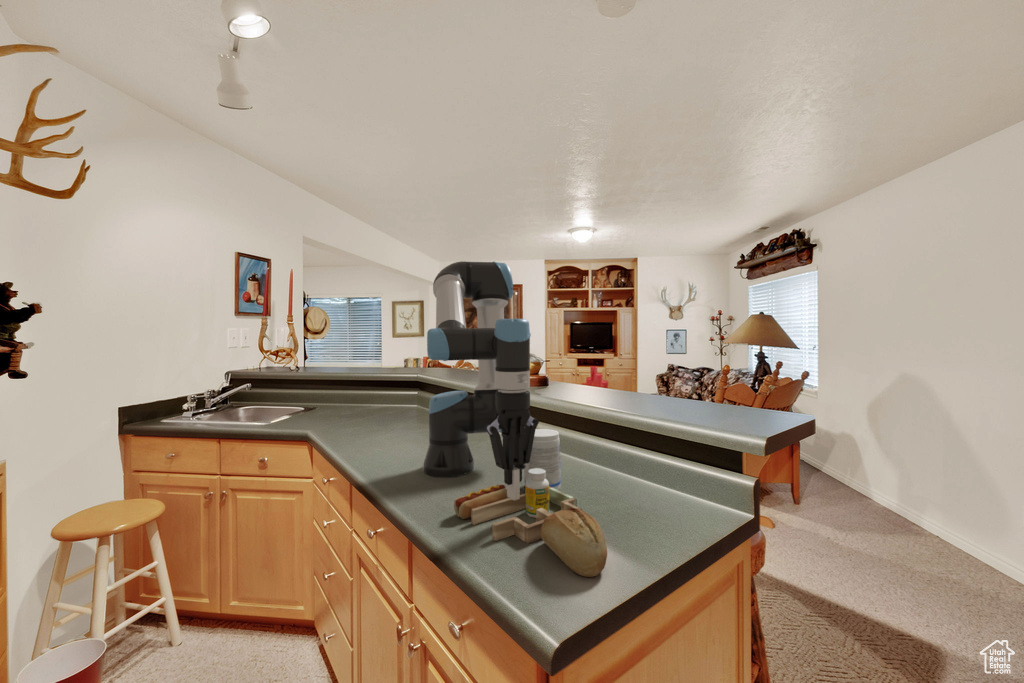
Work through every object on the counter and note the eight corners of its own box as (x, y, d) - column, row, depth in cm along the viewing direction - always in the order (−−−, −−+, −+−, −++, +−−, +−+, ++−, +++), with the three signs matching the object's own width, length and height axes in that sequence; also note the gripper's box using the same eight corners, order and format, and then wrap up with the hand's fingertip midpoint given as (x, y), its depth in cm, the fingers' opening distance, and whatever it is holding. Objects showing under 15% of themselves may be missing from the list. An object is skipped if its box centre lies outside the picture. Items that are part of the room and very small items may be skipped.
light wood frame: (471, 523, 85) (471, 509, 85) (549, 498, 97) (549, 486, 97) (508, 551, 73) (508, 535, 73) (591, 519, 86) (591, 505, 86)
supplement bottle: (539, 506, 93) (539, 465, 93) (554, 514, 88) (553, 471, 88) (520, 512, 90) (520, 470, 90) (535, 520, 85) (534, 476, 85)
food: (497, 499, 98) (496, 479, 98) (512, 506, 93) (511, 485, 93) (449, 516, 88) (449, 494, 88) (463, 525, 84) (463, 501, 84)
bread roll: (569, 533, 80) (569, 494, 80) (623, 571, 66) (622, 524, 66) (528, 545, 75) (528, 503, 75) (577, 589, 62) (576, 538, 62)
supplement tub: (568, 489, 103) (567, 433, 103) (539, 498, 98) (538, 438, 98) (545, 479, 111) (544, 426, 111) (517, 486, 106) (516, 431, 106)
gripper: (496, 395, 79) (497, 512, 79) (546, 389, 86) (547, 496, 87) (477, 390, 85) (478, 499, 86) (526, 385, 92) (526, 485, 93)
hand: (513, 497), depth 86 cm, fingers closed
